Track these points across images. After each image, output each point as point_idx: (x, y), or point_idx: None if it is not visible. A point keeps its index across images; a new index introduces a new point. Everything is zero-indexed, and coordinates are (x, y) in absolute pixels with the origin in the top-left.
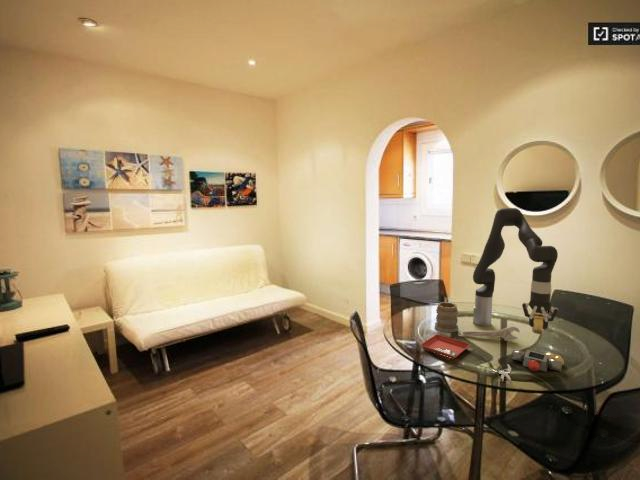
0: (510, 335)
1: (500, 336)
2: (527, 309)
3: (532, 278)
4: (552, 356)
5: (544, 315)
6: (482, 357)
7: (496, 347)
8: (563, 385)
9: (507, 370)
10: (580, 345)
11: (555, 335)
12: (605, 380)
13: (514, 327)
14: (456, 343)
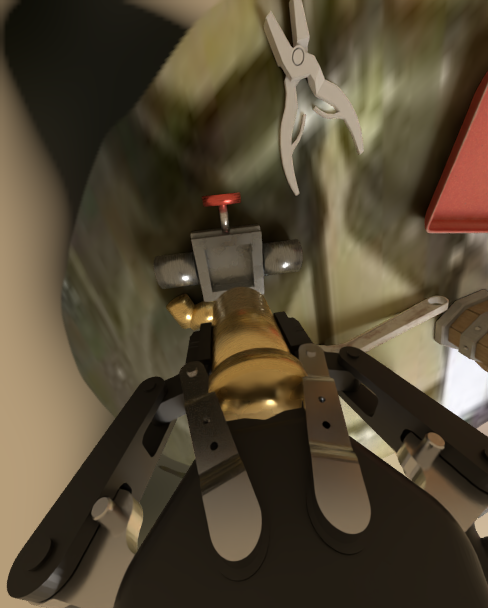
0: None
1: (339, 345)
2: (373, 429)
3: None
4: (198, 312)
5: (204, 404)
6: (373, 193)
7: (338, 294)
8: (117, 164)
9: (291, 135)
10: (183, 418)
11: None
12: (62, 293)
13: None
14: (459, 224)
